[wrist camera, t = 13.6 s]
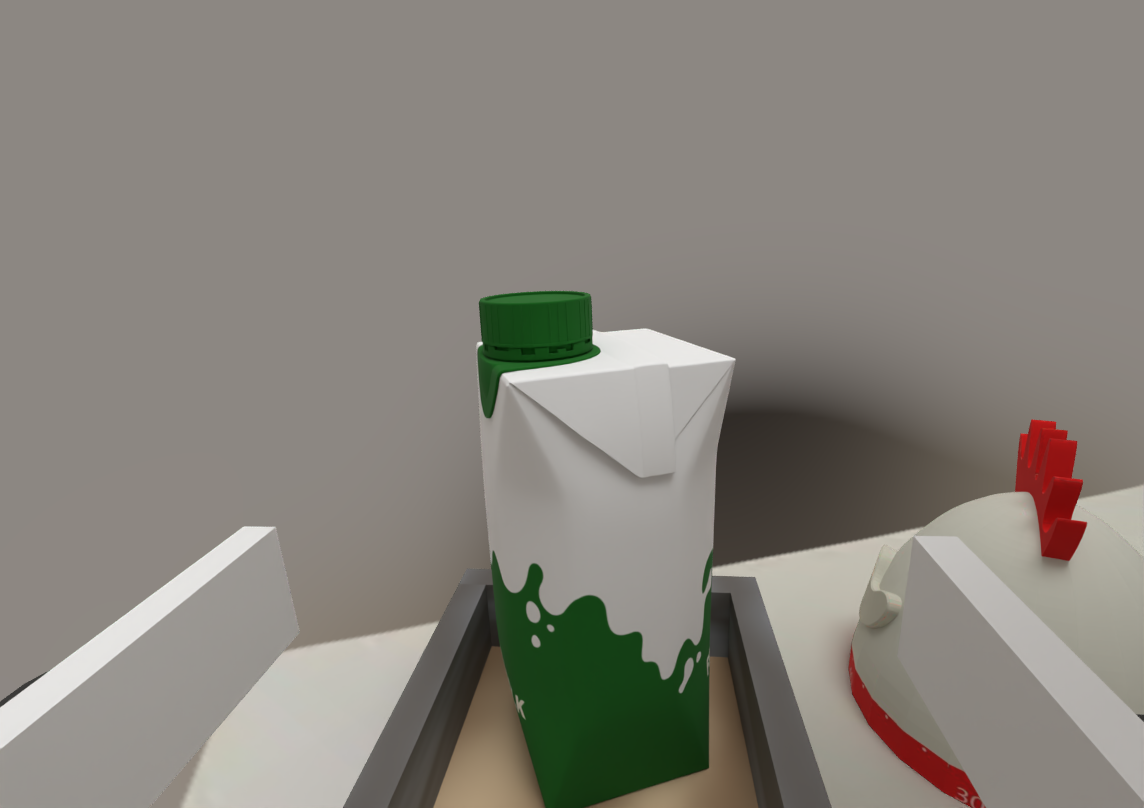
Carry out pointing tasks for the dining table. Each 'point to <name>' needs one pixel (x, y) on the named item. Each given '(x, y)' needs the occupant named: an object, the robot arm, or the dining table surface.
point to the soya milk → (600, 539)
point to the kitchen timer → (1034, 574)
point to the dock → (498, 747)
